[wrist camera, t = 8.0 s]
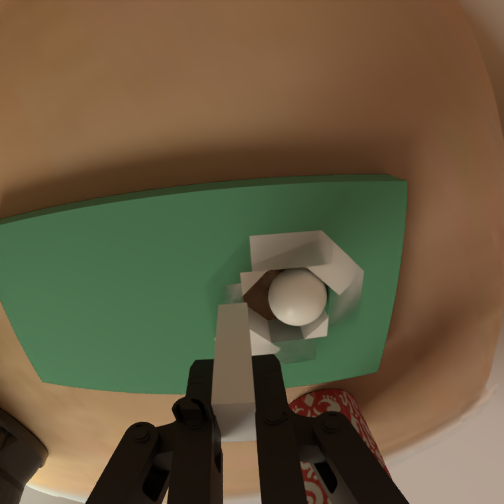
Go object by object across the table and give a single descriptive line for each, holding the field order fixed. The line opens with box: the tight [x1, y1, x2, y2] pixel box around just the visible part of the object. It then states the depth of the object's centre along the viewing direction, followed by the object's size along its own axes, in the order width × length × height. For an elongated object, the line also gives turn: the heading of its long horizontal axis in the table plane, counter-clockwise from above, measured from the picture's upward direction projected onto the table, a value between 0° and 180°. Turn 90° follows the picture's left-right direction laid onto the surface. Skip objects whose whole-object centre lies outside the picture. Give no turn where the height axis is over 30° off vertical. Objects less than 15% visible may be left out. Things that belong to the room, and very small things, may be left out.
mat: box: [0, 174, 408, 394], centre depth 18 cm, size 28×14×2 cm, turn 94°
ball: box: [268, 267, 327, 326], centre depth 17 cm, size 4×4×4 cm
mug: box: [289, 389, 393, 504], centre depth 19 cm, size 13×9×14 cm
